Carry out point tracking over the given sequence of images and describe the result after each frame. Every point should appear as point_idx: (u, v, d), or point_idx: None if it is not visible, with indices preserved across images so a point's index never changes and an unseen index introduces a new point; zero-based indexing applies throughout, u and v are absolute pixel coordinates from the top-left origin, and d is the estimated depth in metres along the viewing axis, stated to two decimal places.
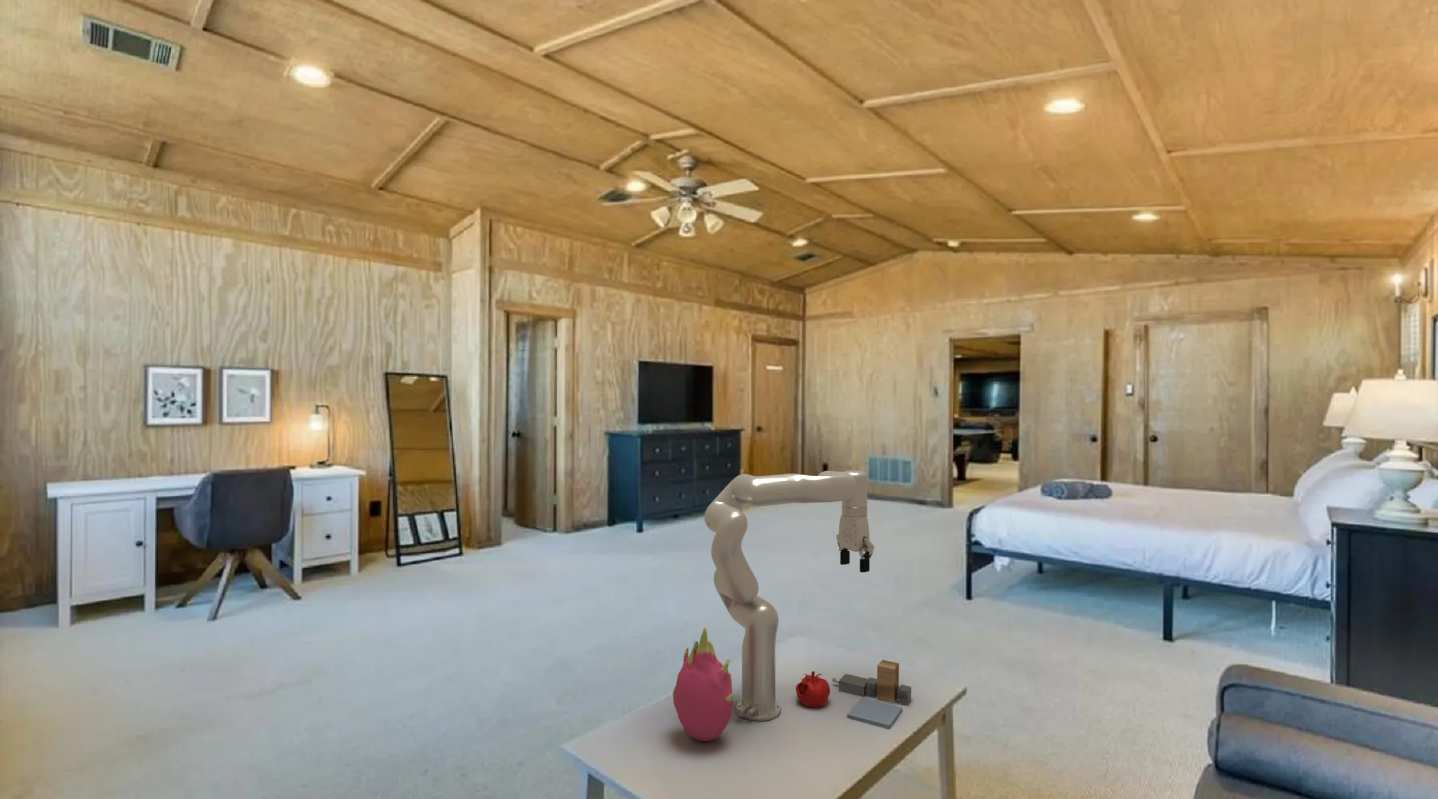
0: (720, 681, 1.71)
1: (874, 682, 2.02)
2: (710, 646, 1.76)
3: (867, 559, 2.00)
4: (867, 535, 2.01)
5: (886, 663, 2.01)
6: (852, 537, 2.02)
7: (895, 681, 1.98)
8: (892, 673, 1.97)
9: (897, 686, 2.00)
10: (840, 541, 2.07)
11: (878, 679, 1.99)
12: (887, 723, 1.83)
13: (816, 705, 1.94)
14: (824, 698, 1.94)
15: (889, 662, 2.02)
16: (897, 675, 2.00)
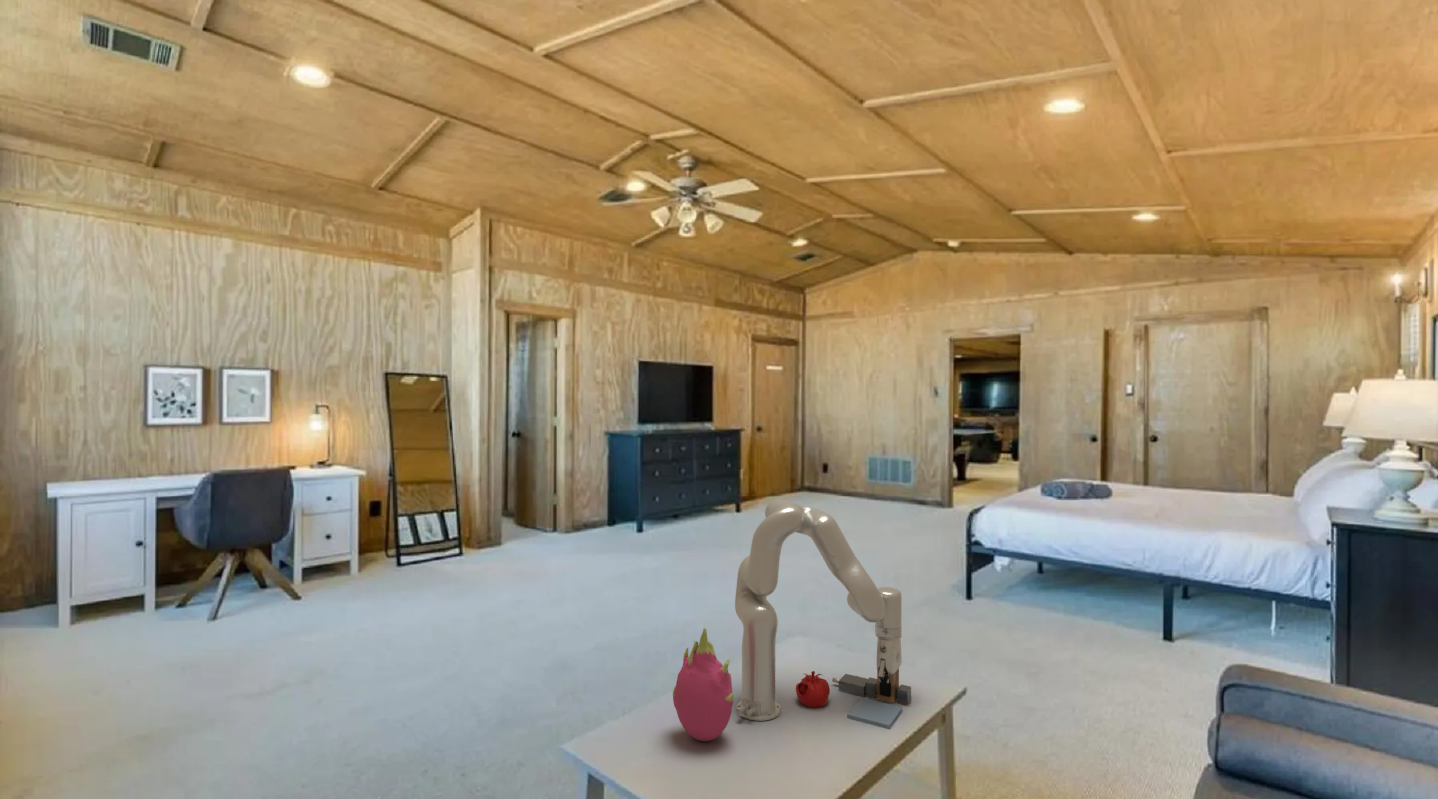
0: (720, 681, 1.71)
1: (874, 682, 2.02)
2: (710, 646, 1.76)
3: None
4: None
5: None
6: (900, 653, 2.01)
7: (895, 681, 1.98)
8: None
9: (897, 686, 2.00)
10: (893, 668, 1.96)
11: (878, 679, 1.99)
12: (887, 723, 1.83)
13: (816, 705, 1.94)
14: (824, 698, 1.94)
15: None
16: (897, 675, 2.00)
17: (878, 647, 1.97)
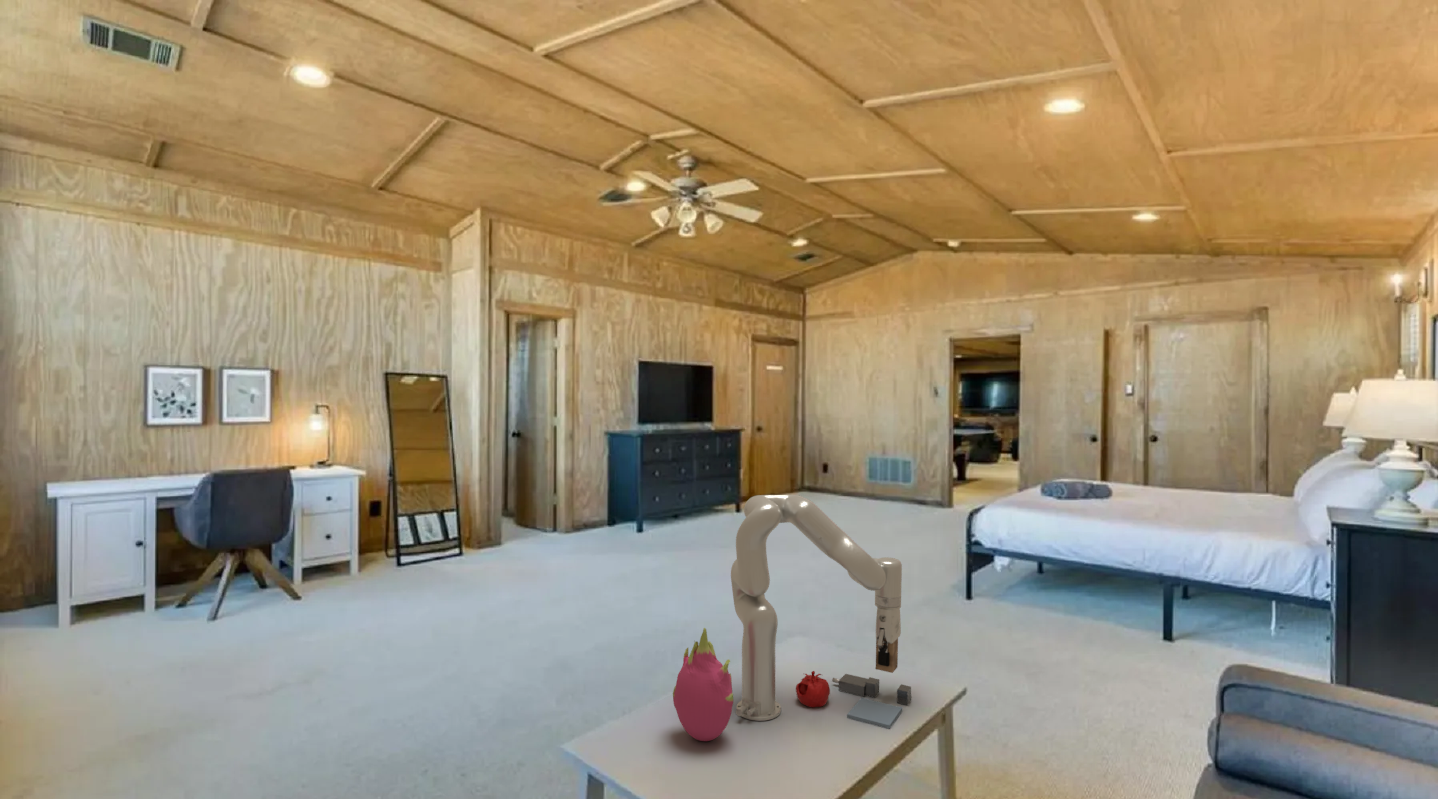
0: (720, 681, 1.71)
1: (874, 682, 2.02)
2: (710, 646, 1.76)
3: None
4: None
5: None
6: (899, 623, 2.01)
7: (894, 651, 1.98)
8: None
9: (896, 656, 2.00)
10: (893, 637, 1.96)
11: (877, 649, 1.99)
12: (887, 723, 1.83)
13: (816, 705, 1.94)
14: (824, 698, 1.94)
15: None
16: (896, 645, 2.00)
17: (877, 616, 1.97)
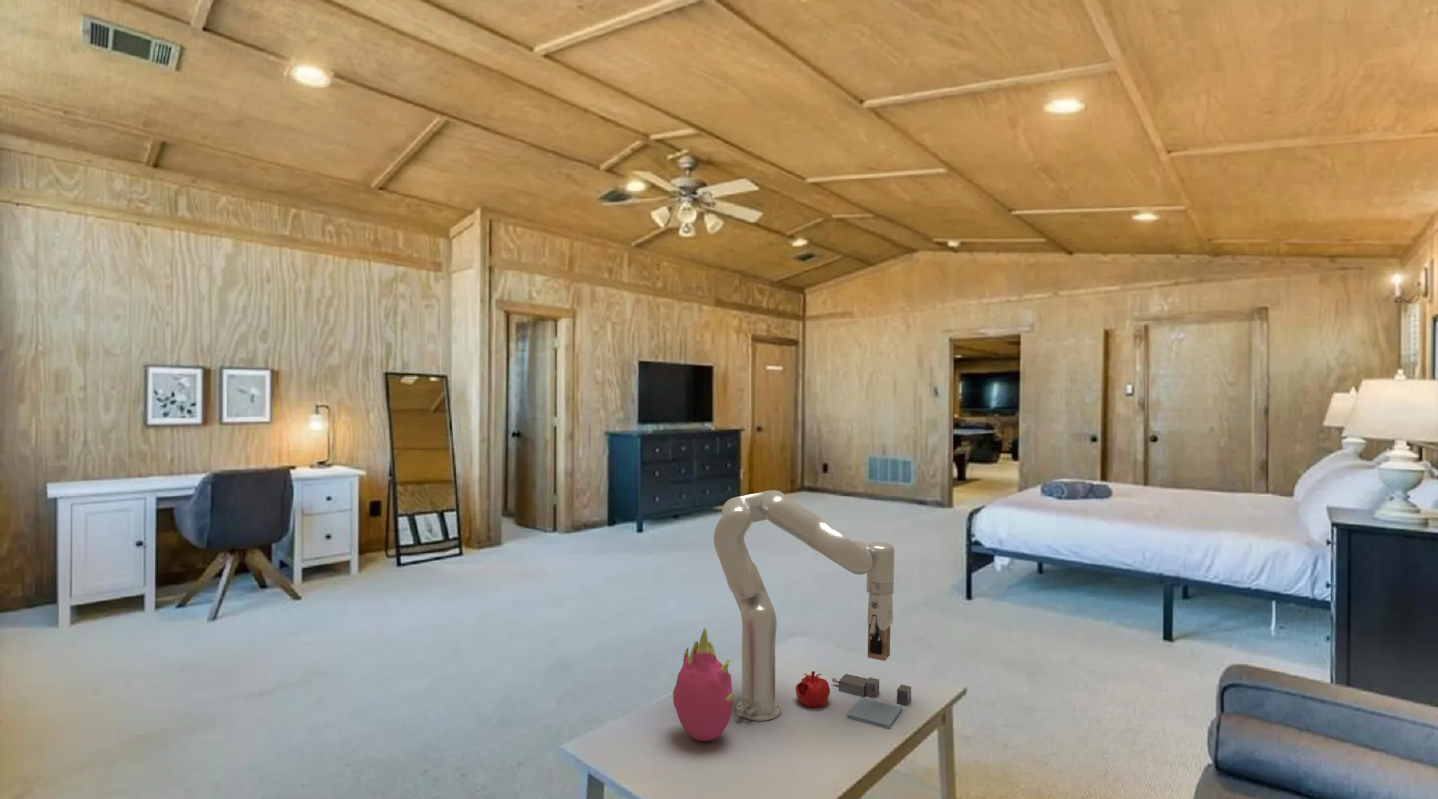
0: (720, 681, 1.71)
1: (874, 682, 2.02)
2: (710, 646, 1.76)
3: None
4: None
5: None
6: (891, 610, 1.94)
7: (886, 638, 1.91)
8: None
9: (888, 644, 1.93)
10: (885, 625, 1.89)
11: (869, 636, 1.92)
12: (887, 723, 1.83)
13: (816, 705, 1.94)
14: (824, 698, 1.94)
15: None
16: (888, 632, 1.93)
17: (869, 603, 1.90)
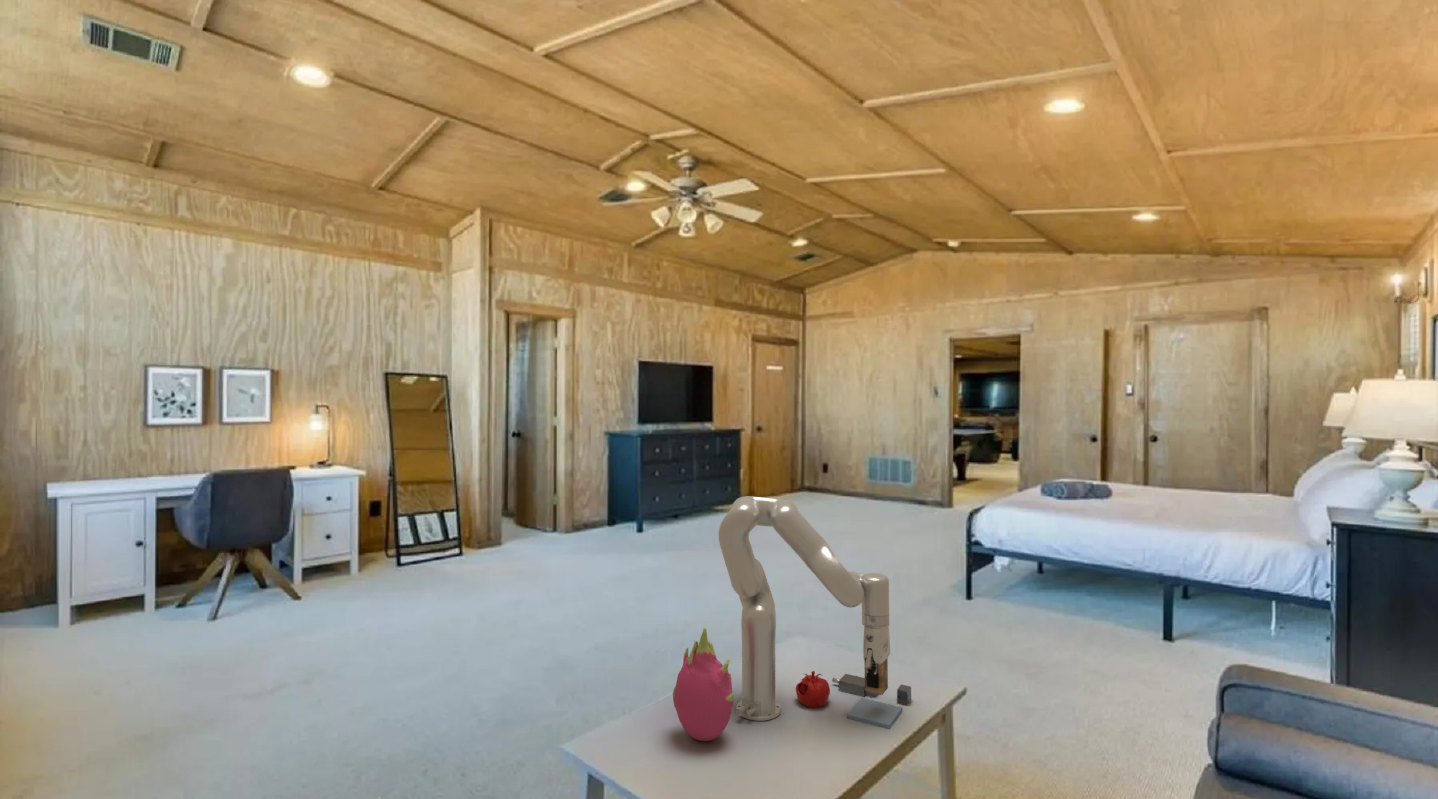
0: (720, 681, 1.71)
1: None
2: (710, 646, 1.76)
3: None
4: None
5: None
6: (888, 642, 1.91)
7: (883, 672, 1.88)
8: None
9: (886, 677, 1.90)
10: (881, 658, 1.86)
11: (865, 670, 1.89)
12: (887, 723, 1.83)
13: (816, 705, 1.94)
14: (824, 698, 1.94)
15: None
16: (885, 665, 1.89)
17: (865, 636, 1.87)
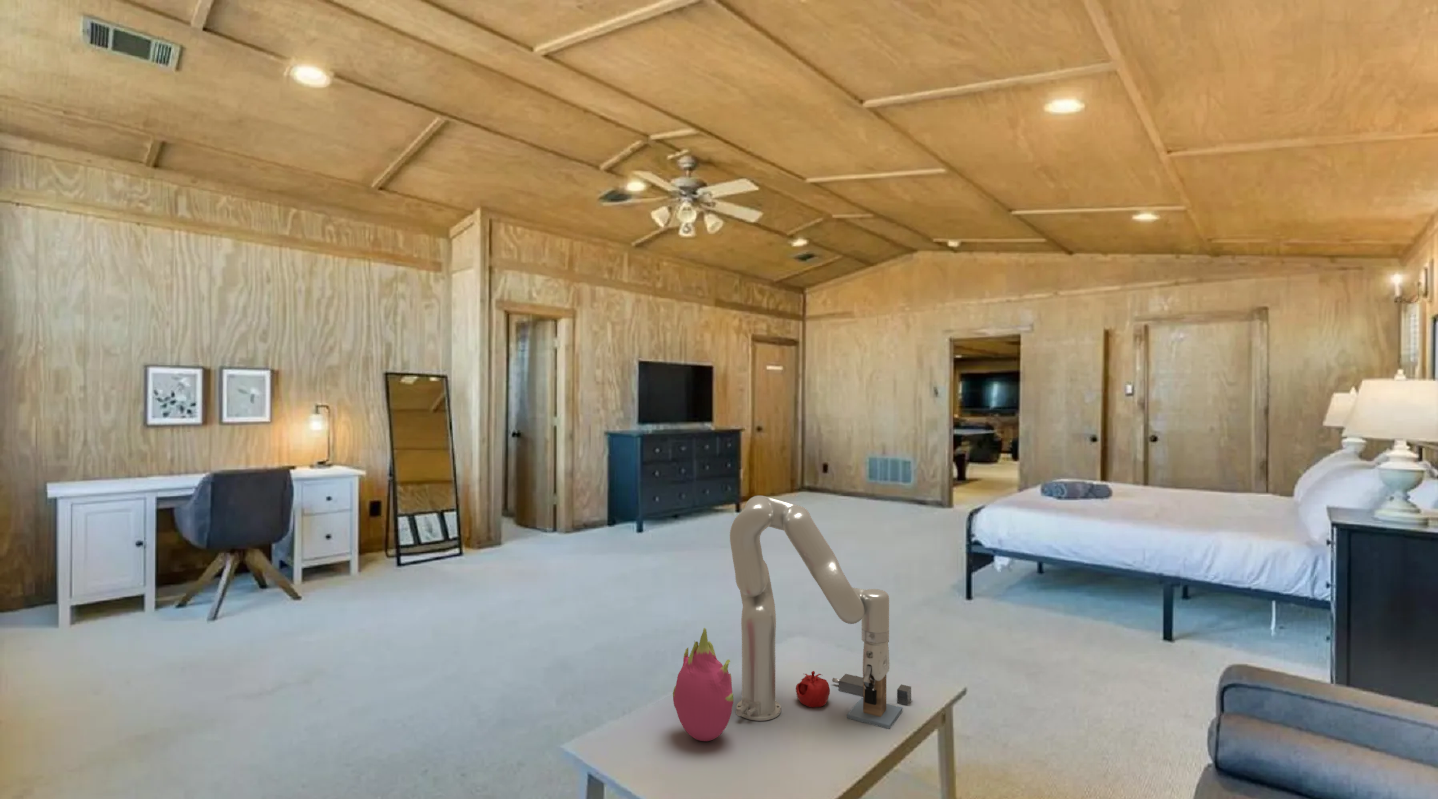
0: (720, 681, 1.71)
1: None
2: (710, 646, 1.76)
3: None
4: None
5: None
6: (887, 658, 1.91)
7: (882, 693, 1.88)
8: (879, 684, 1.87)
9: (884, 698, 1.90)
10: (880, 675, 1.86)
11: (864, 691, 1.89)
12: (887, 723, 1.83)
13: (816, 705, 1.94)
14: (824, 698, 1.94)
15: None
16: (884, 687, 1.90)
17: (864, 652, 1.87)
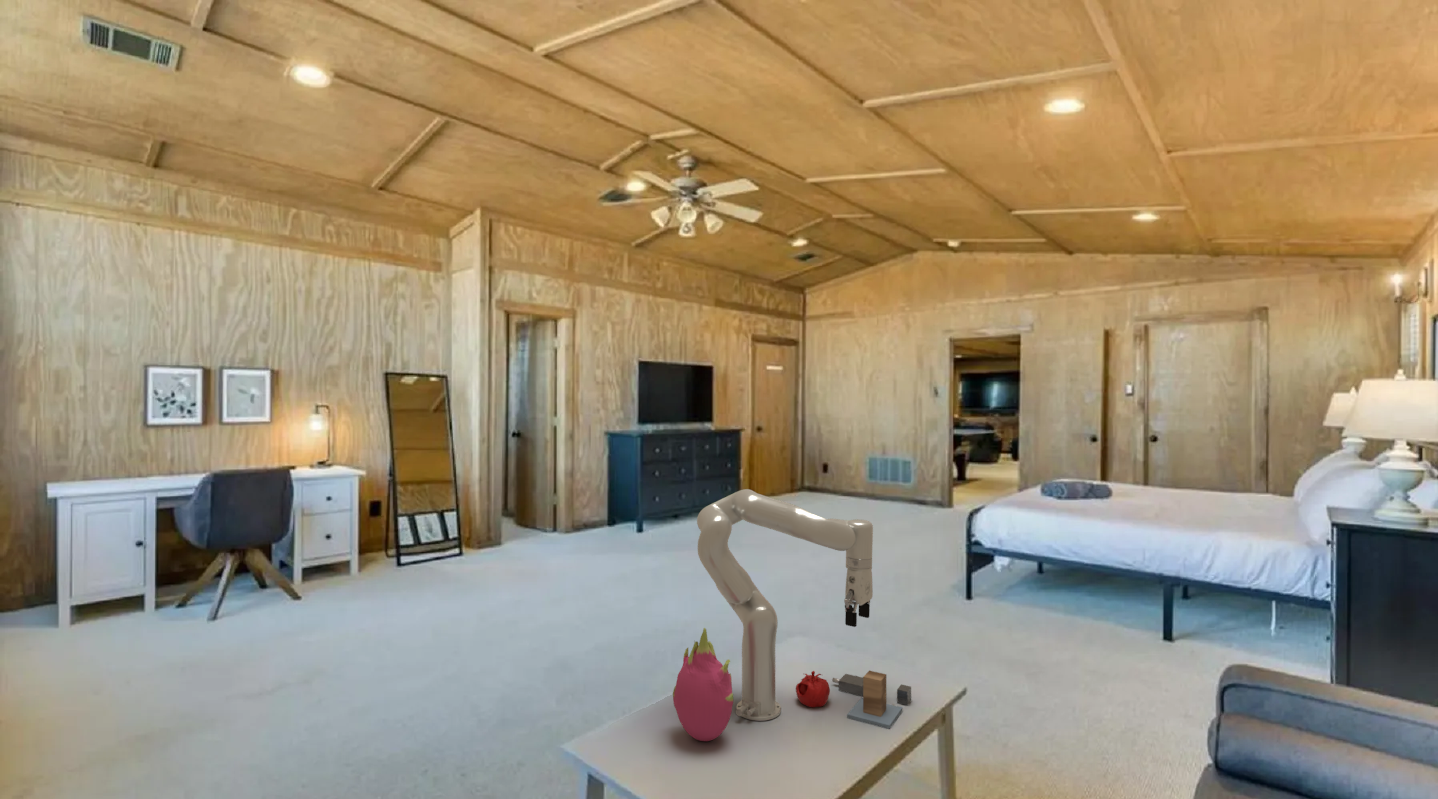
0: (720, 681, 1.71)
1: None
2: (710, 646, 1.76)
3: None
4: None
5: (873, 674, 1.91)
6: (870, 586, 1.98)
7: (882, 693, 1.88)
8: (879, 684, 1.87)
9: (884, 698, 1.90)
10: (862, 599, 1.93)
11: (864, 691, 1.89)
12: (887, 723, 1.83)
13: (816, 705, 1.94)
14: (824, 698, 1.94)
15: (875, 673, 1.92)
16: (884, 687, 1.90)
17: (847, 578, 1.95)
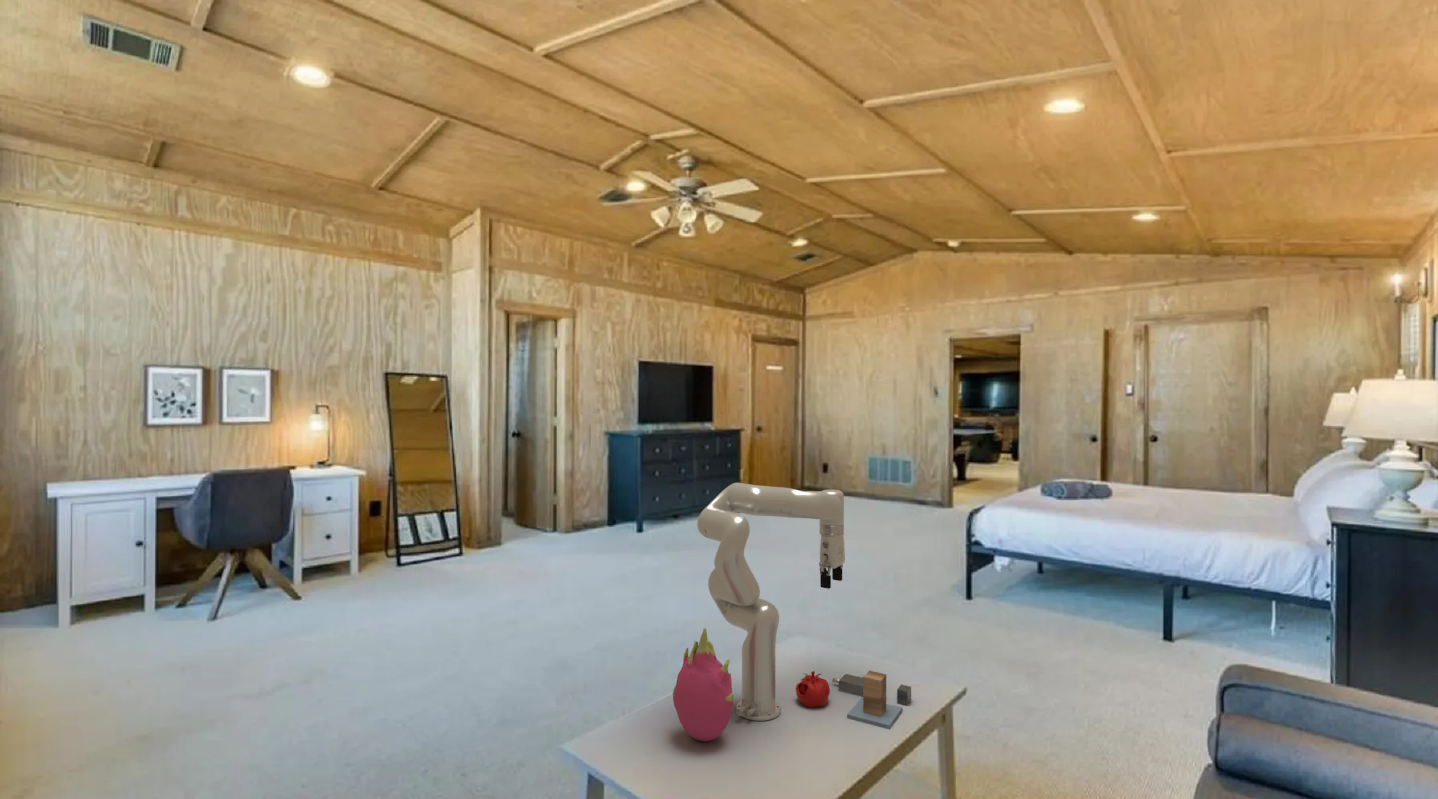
0: (720, 681, 1.71)
1: None
2: (710, 646, 1.76)
3: None
4: None
5: (873, 674, 1.91)
6: (842, 551, 2.13)
7: (882, 693, 1.88)
8: (879, 684, 1.87)
9: (884, 698, 1.90)
10: (835, 563, 2.08)
11: (864, 691, 1.89)
12: (887, 723, 1.83)
13: (816, 705, 1.94)
14: (824, 698, 1.94)
15: (875, 673, 1.92)
16: (884, 687, 1.90)
17: (821, 543, 2.09)
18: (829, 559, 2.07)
